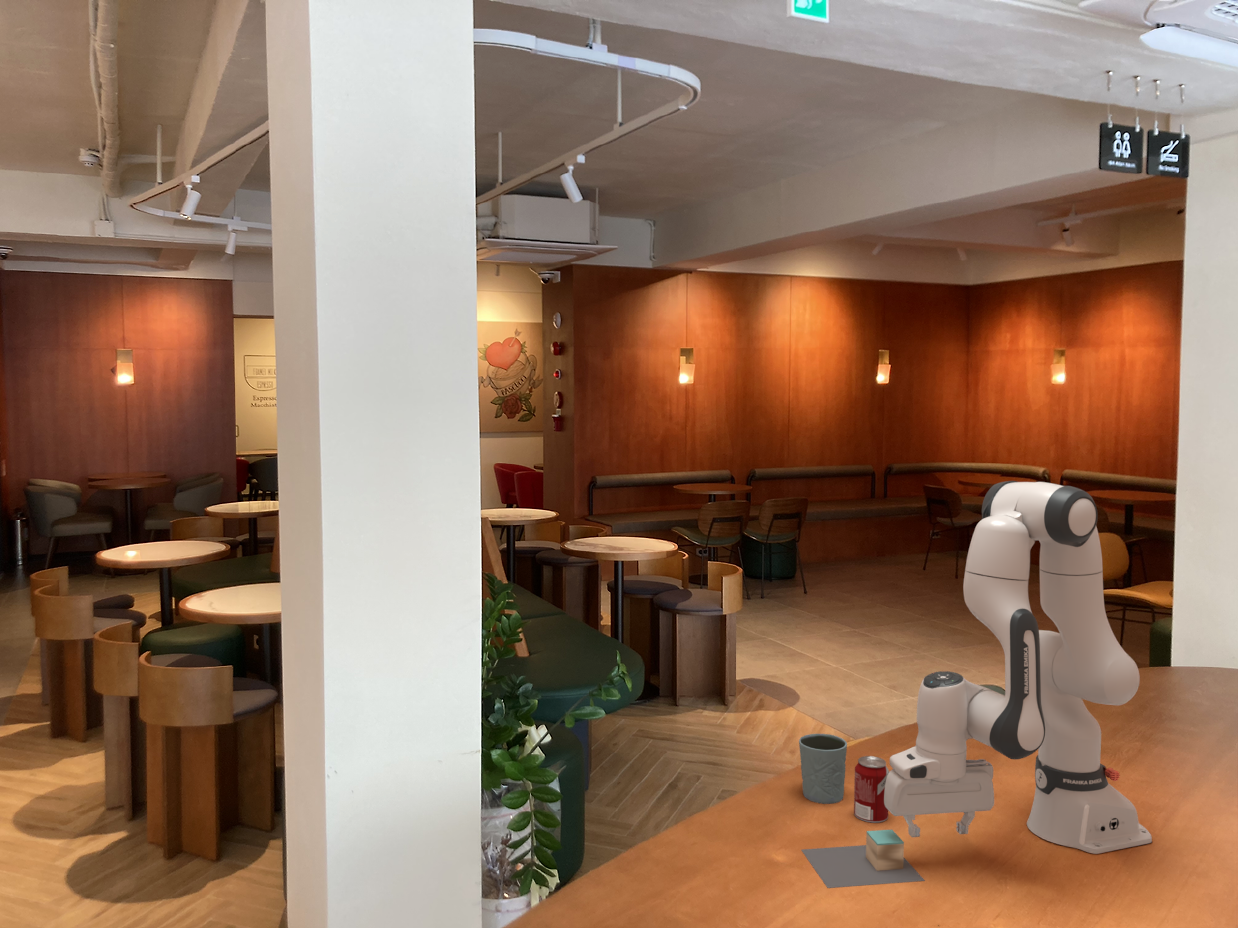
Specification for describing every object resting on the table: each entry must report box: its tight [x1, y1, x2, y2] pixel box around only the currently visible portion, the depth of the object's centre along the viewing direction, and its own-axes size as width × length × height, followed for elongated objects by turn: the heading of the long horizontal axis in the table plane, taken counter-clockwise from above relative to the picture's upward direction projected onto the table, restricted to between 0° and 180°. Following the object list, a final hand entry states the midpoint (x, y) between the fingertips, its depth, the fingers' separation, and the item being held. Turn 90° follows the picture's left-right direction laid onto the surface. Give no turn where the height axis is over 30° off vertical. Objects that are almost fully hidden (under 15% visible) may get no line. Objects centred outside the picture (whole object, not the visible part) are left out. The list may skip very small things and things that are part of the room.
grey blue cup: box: [798, 733, 848, 805], centre depth 203 cm, size 10×10×12 cm
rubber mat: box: [800, 844, 926, 889], centre depth 172 cm, size 18×14×1 cm
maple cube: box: [865, 829, 905, 871], centre depth 172 cm, size 5×5×5 cm
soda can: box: [853, 755, 890, 824], centre depth 192 cm, size 7×7×12 cm
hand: (938, 834), depth 173 cm, fingers open, 8 cm apart
